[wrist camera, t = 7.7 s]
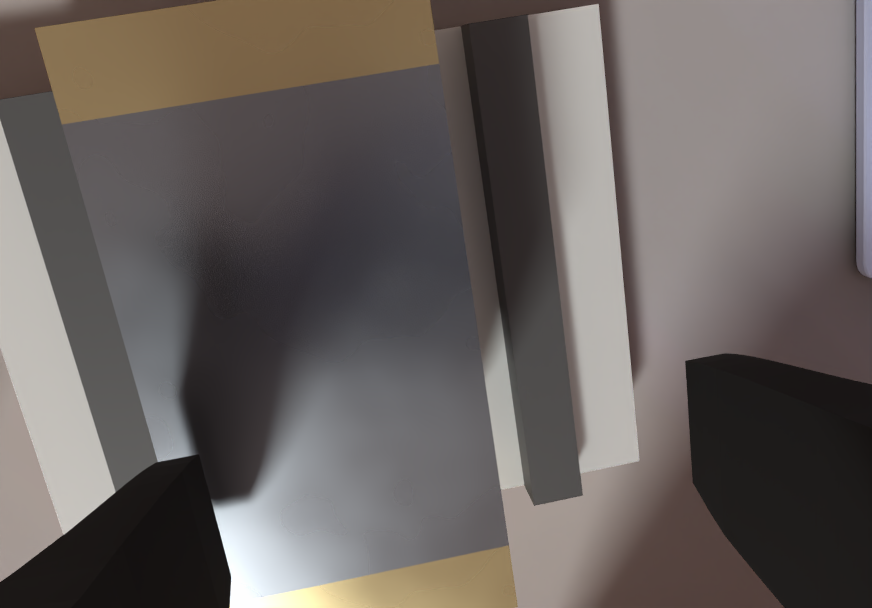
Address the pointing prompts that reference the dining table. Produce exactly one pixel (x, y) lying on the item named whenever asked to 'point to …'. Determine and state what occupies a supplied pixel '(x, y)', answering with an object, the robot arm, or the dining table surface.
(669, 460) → the dining table surface
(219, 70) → the housing
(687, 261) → the dining table surface
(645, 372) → the dining table surface
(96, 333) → the stand
